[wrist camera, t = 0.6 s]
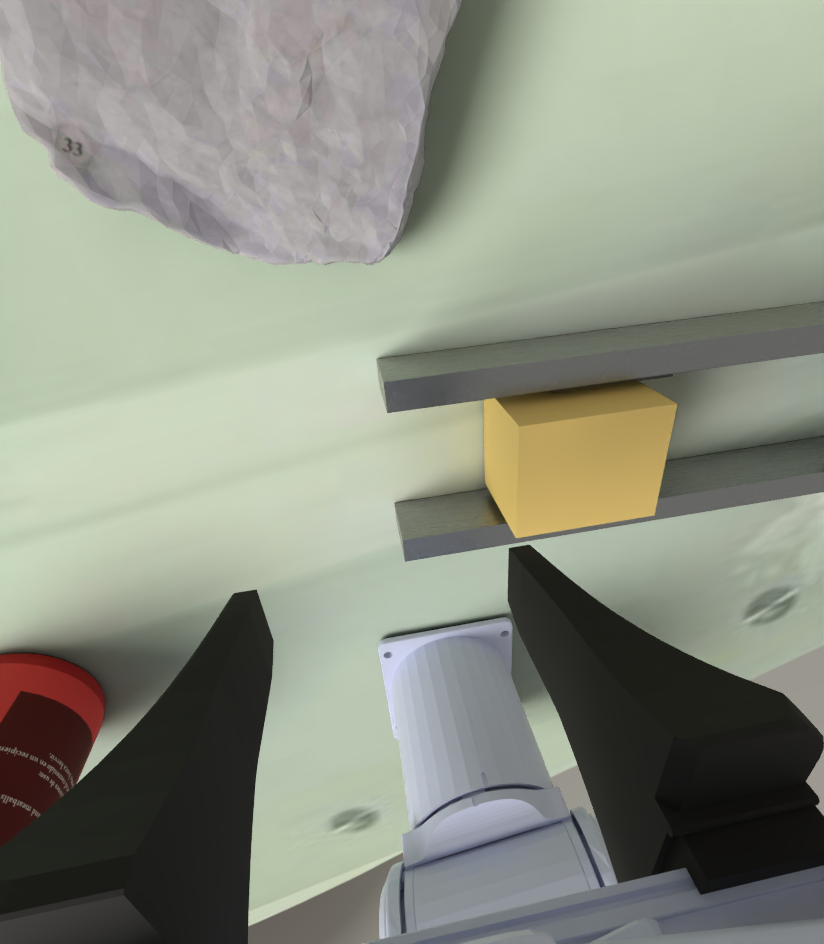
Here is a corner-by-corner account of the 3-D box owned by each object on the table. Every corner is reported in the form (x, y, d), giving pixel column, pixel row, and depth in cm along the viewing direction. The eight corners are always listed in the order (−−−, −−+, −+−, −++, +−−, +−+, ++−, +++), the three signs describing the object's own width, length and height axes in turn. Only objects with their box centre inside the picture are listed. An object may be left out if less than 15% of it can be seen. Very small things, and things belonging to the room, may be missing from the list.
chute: (850, 450, 26) (907, 477, 23) (397, 522, 24) (405, 561, 21) (919, 289, 22) (998, 300, 19) (376, 358, 20) (383, 382, 17)
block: (601, 464, 24) (654, 515, 20) (484, 482, 23) (516, 538, 19) (614, 367, 21) (677, 403, 17) (483, 385, 21) (519, 426, 17)
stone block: (402, 259, 20) (473, -102, 14) (410, 302, 16) (512, -164, 10) (88, 193, 18) (-1, -277, 11) (14, 226, 14) (-176, -440, 8)
